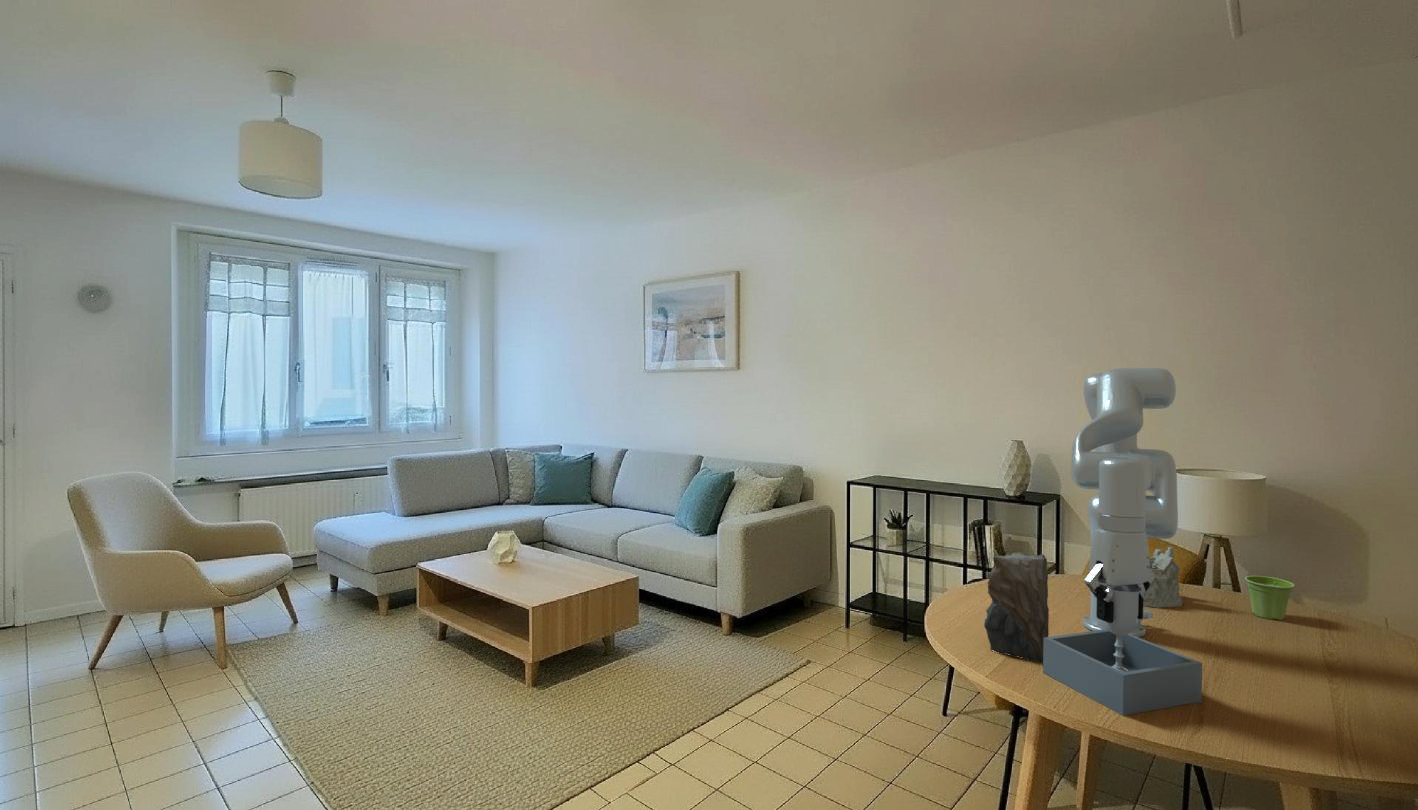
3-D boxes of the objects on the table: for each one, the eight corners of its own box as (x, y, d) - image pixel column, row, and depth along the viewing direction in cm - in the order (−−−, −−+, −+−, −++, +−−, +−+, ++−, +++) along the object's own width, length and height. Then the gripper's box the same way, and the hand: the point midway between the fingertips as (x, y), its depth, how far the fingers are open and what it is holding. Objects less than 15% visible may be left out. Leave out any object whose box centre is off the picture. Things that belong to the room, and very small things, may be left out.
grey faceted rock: (982, 650, 144) (983, 557, 143) (996, 632, 154) (997, 546, 154) (1048, 664, 137) (1049, 567, 136) (1057, 645, 147) (1058, 554, 146)
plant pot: (1299, 617, 164) (1300, 582, 164) (1286, 625, 159) (1287, 589, 159) (1252, 607, 172) (1252, 573, 172) (1238, 614, 167) (1238, 579, 166)
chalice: (1088, 673, 130) (1089, 581, 130) (1121, 671, 131) (1123, 580, 130) (1115, 690, 123) (1116, 592, 122) (1149, 688, 123) (1151, 591, 123)
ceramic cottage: (1163, 589, 186) (1161, 536, 186) (1194, 611, 170) (1192, 553, 169) (1101, 590, 189) (1099, 537, 188) (1126, 611, 173) (1124, 554, 172)
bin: (1114, 661, 138) (1115, 628, 138) (1201, 701, 121) (1202, 662, 120) (1043, 672, 133) (1043, 637, 133) (1122, 715, 115) (1123, 675, 115)
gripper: (1139, 517, 132) (1137, 607, 132) (1067, 522, 127) (1066, 616, 128) (1175, 524, 125) (1173, 620, 125) (1101, 530, 120) (1099, 630, 120)
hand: (1119, 617), depth 126 cm, fingers open, 6 cm apart
